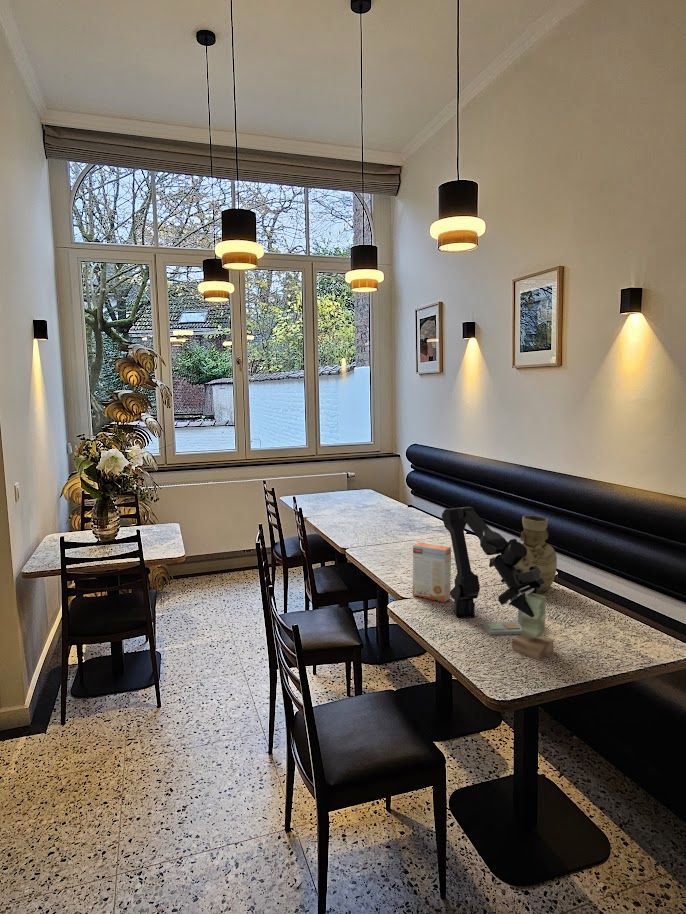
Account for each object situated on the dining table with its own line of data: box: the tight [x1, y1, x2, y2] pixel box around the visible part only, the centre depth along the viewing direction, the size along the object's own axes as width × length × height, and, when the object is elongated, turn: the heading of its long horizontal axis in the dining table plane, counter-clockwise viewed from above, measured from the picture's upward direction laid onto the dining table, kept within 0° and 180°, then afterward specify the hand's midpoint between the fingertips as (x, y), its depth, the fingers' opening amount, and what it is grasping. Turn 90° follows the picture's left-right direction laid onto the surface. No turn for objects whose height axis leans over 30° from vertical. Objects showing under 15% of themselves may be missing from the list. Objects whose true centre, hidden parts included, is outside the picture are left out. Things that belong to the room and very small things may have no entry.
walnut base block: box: [511, 634, 555, 660], centre depth 185 cm, size 9×9×4 cm
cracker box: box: [412, 542, 452, 603], centre depth 230 cm, size 14×6×21 cm, turn 56°
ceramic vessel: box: [515, 515, 558, 594], centre depth 240 cm, size 19×21×30 cm
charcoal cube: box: [517, 609, 523, 627], centre depth 204 cm, size 6×6×6 cm
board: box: [482, 621, 523, 636], centre depth 201 cm, size 12×8×1 cm, turn 94°
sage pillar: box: [521, 593, 547, 638], centre depth 184 cm, size 5×5×12 cm
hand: (537, 614), depth 183 cm, fingers closed on sage pillar, 5 cm apart
